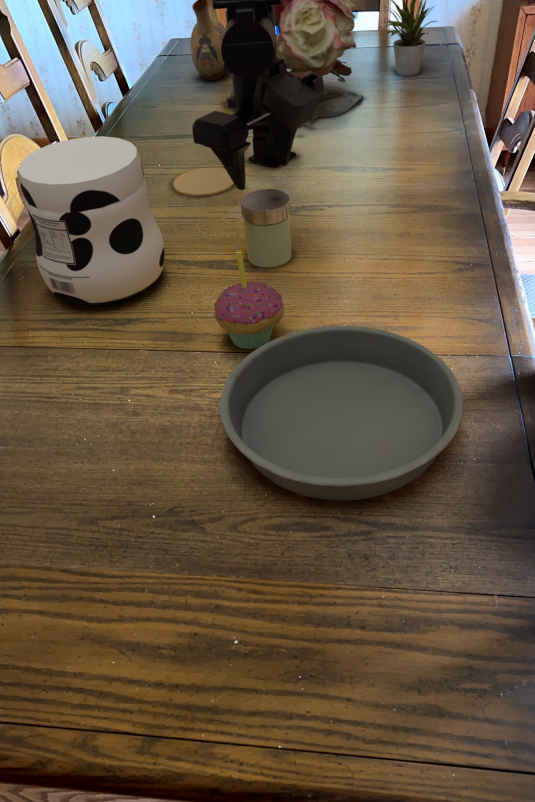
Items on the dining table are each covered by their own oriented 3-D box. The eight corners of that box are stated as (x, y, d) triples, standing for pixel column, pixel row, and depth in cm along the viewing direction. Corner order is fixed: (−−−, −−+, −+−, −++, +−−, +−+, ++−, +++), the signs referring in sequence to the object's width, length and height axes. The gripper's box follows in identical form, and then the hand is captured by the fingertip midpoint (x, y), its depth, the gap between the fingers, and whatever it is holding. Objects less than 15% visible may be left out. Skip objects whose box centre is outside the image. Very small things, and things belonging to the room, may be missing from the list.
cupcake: (208, 330, 91) (196, 245, 83) (270, 311, 93) (263, 227, 85) (233, 367, 85) (222, 279, 77) (298, 346, 87) (293, 259, 79)
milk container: (165, 244, 109) (143, 126, 97) (173, 305, 96) (149, 176, 84) (50, 261, 108) (14, 143, 96) (43, 325, 95) (0, 197, 83)
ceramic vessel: (201, 67, 177) (186, -50, 161) (237, 66, 176) (226, -53, 160) (188, 89, 165) (171, -36, 149) (227, 88, 164) (214, -39, 147)
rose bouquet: (300, 138, 138) (293, -43, 118) (213, 104, 156) (194, -57, 136) (393, 102, 149) (401, -68, 129) (302, 75, 167) (296, -78, 147)
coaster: (203, 165, 131) (203, 162, 131) (248, 177, 126) (248, 175, 125) (160, 187, 125) (160, 185, 125) (206, 201, 119) (206, 199, 119)
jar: (266, 241, 108) (262, 189, 102) (300, 252, 104) (298, 199, 99) (238, 259, 104) (233, 206, 99) (273, 272, 101) (268, 217, 95)
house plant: (375, 61, 171) (377, -16, 160) (435, 59, 169) (440, -19, 158) (374, 81, 160) (376, -1, 149) (437, 79, 158) (443, -4, 147)
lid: (263, 198, 103) (261, 185, 102) (300, 209, 100) (300, 195, 99) (231, 217, 100) (230, 203, 98) (270, 229, 96) (269, 215, 95)
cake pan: (240, 355, 87) (236, 324, 84) (448, 356, 84) (451, 324, 81) (206, 511, 68) (200, 479, 65) (471, 520, 65) (477, 486, 62)
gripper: (254, 85, 77) (264, 219, 87) (352, 40, 87) (351, 164, 97) (180, 71, 83) (198, 198, 93) (281, 30, 93) (287, 149, 103)
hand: (262, 177), depth 96 cm, fingers open, 9 cm apart
